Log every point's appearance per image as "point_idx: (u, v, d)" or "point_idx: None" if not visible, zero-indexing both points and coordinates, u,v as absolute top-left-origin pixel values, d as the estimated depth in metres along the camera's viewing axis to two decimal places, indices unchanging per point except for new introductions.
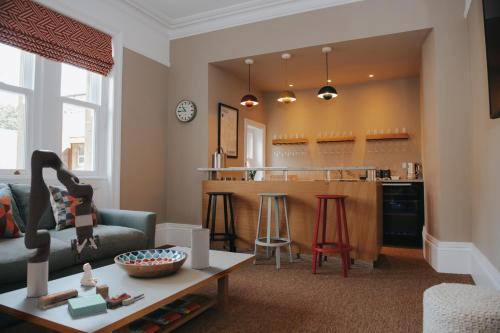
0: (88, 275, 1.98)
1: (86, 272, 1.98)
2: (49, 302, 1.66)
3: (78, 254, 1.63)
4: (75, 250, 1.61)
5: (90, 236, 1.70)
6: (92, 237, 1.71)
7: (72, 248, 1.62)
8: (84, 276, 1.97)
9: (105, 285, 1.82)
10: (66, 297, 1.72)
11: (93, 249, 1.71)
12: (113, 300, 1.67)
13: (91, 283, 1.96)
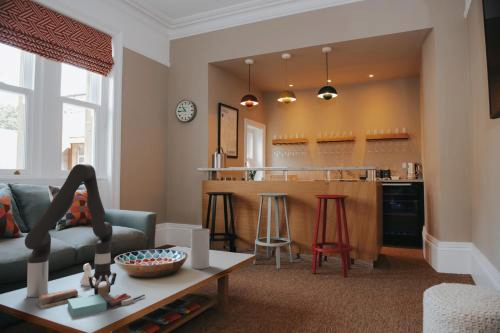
0: (88, 275, 1.98)
1: (86, 272, 1.98)
2: (47, 301, 1.67)
3: (95, 290, 1.78)
4: (92, 287, 1.77)
5: (107, 273, 1.82)
6: (109, 274, 1.82)
7: None
8: (84, 276, 1.97)
9: (105, 285, 1.82)
10: (65, 297, 1.72)
11: None
12: (112, 300, 1.67)
13: None
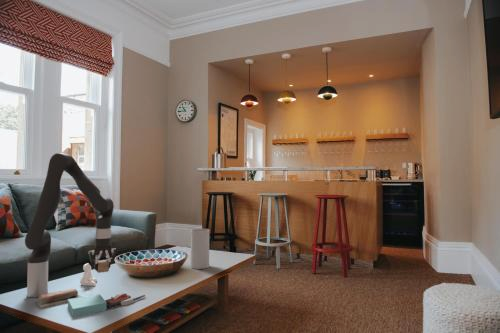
0: (88, 275, 1.98)
1: (86, 272, 1.98)
2: (47, 301, 1.67)
3: (95, 265, 1.79)
4: (92, 261, 1.77)
5: (107, 248, 1.82)
6: (109, 249, 1.83)
7: None
8: (84, 276, 1.97)
9: (105, 260, 1.83)
10: (65, 297, 1.73)
11: None
12: (112, 300, 1.67)
13: (91, 283, 1.96)
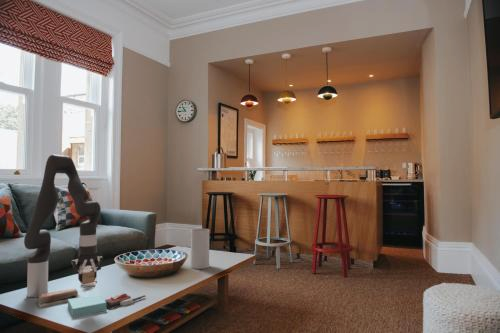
0: None
1: None
2: (46, 300, 1.68)
3: (79, 275, 1.62)
4: (75, 271, 1.60)
5: (93, 256, 1.65)
6: (95, 257, 1.65)
7: None
8: None
9: (91, 270, 1.66)
10: (64, 296, 1.73)
11: None
12: (111, 300, 1.67)
13: (91, 283, 1.96)
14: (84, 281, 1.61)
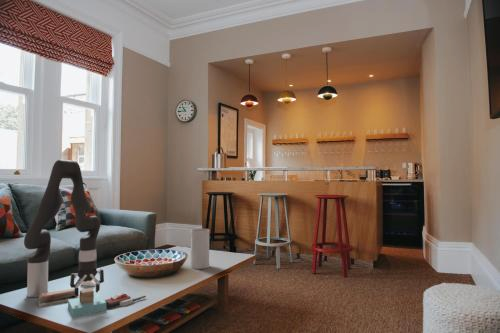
0: None
1: None
2: (45, 300, 1.69)
3: (75, 289, 1.61)
4: (72, 285, 1.59)
5: (92, 271, 1.65)
6: (95, 272, 1.65)
7: None
8: None
9: (90, 289, 1.65)
10: (64, 296, 1.73)
11: (96, 284, 1.66)
12: (110, 300, 1.67)
13: (91, 283, 1.96)
14: (83, 301, 1.61)
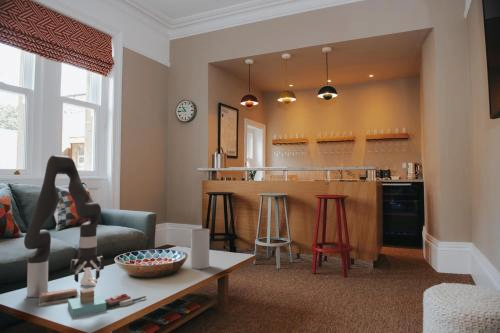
0: (88, 275, 1.98)
1: (86, 272, 1.98)
2: (45, 299, 1.69)
3: (75, 275, 1.61)
4: (71, 271, 1.59)
5: (92, 258, 1.65)
6: (95, 259, 1.65)
7: None
8: (84, 276, 1.97)
9: (90, 289, 1.65)
10: (64, 296, 1.73)
11: (96, 271, 1.66)
12: (110, 300, 1.67)
13: (91, 283, 1.96)
14: (84, 301, 1.61)
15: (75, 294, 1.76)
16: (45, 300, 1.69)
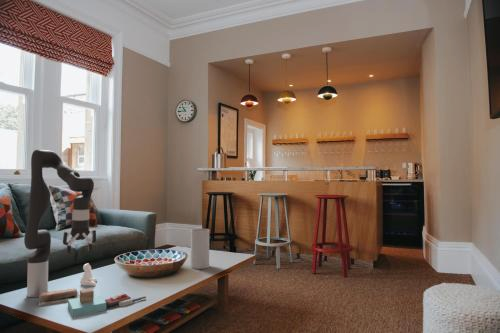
0: (88, 275, 1.98)
1: (86, 272, 1.98)
2: (45, 299, 1.69)
3: (68, 247, 1.65)
4: (64, 243, 1.64)
5: (85, 231, 1.69)
6: (87, 232, 1.70)
7: None
8: (84, 276, 1.97)
9: (90, 289, 1.65)
10: (64, 296, 1.73)
11: (88, 243, 1.71)
12: (110, 300, 1.67)
13: (91, 283, 1.96)
14: (83, 301, 1.61)
15: (75, 294, 1.76)
16: (45, 300, 1.69)
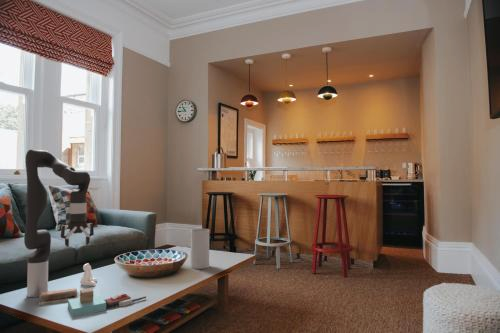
0: (88, 275, 1.98)
1: (86, 272, 1.98)
2: (45, 299, 1.70)
3: (66, 240, 1.67)
4: (62, 236, 1.65)
5: (82, 224, 1.71)
6: (85, 225, 1.71)
7: None
8: (84, 276, 1.97)
9: (90, 289, 1.65)
10: (64, 296, 1.74)
11: (86, 237, 1.72)
12: (110, 300, 1.67)
13: (91, 283, 1.96)
14: (83, 301, 1.61)
15: (75, 294, 1.76)
16: (45, 299, 1.70)
